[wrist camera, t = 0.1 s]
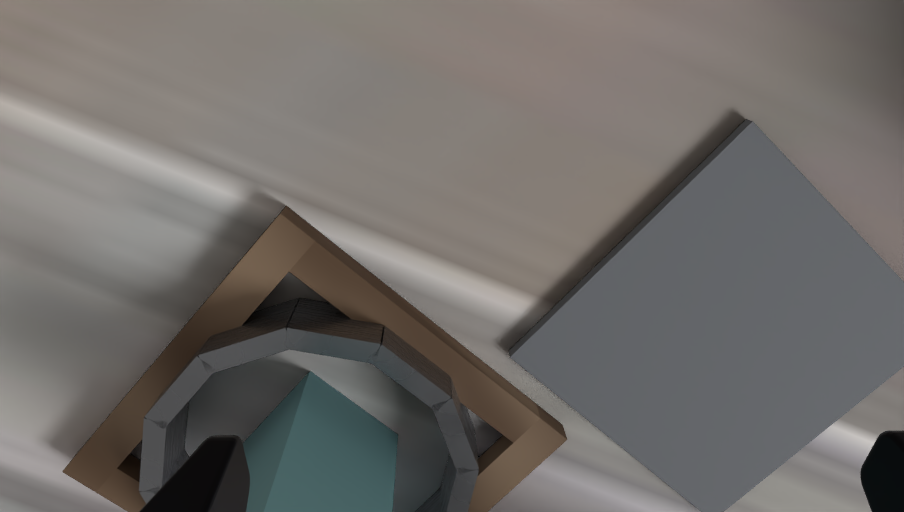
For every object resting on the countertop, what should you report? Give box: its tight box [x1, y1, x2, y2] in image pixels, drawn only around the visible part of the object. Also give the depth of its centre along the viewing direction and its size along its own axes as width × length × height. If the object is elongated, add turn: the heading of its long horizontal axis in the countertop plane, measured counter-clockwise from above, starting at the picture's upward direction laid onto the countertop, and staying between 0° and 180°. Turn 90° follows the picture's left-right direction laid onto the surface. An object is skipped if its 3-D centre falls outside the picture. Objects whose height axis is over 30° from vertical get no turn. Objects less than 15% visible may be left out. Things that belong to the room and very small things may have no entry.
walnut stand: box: [63, 206, 567, 512], centre depth 27 cm, size 14×14×1 cm
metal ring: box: [139, 298, 479, 512], centre depth 26 cm, size 12×12×2 cm
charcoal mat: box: [509, 119, 904, 512], centre depth 26 cm, size 12×12×1 cm
